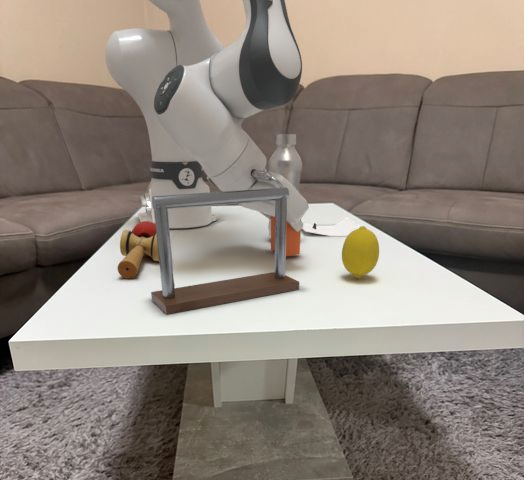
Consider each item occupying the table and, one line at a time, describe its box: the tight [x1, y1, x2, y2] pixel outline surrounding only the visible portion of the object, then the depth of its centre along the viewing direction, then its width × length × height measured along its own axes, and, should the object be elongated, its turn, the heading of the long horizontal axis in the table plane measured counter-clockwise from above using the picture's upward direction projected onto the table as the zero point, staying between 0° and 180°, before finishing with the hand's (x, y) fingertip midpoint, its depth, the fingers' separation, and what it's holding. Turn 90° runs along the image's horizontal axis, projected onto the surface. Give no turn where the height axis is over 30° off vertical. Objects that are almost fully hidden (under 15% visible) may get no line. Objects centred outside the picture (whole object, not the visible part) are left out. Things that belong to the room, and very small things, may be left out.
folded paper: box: [301, 216, 362, 237], centre depth 103 cm, size 12×12×2 cm
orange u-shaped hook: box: [270, 216, 302, 257], centre depth 82 cm, size 5×3×9 cm, turn 30°
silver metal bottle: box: [267, 133, 303, 237], centre depth 90 cm, size 6×7×20 cm
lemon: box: [341, 225, 380, 279], centre depth 69 cm, size 6×6×8 cm
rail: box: [150, 187, 300, 315], centre depth 61 cm, size 6×20×14 cm, turn 120°
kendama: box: [117, 221, 159, 280], centre depth 77 cm, size 8×6×18 cm
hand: (288, 224), depth 82 cm, fingers closed on orange u-shaped hook, 5 cm apart
